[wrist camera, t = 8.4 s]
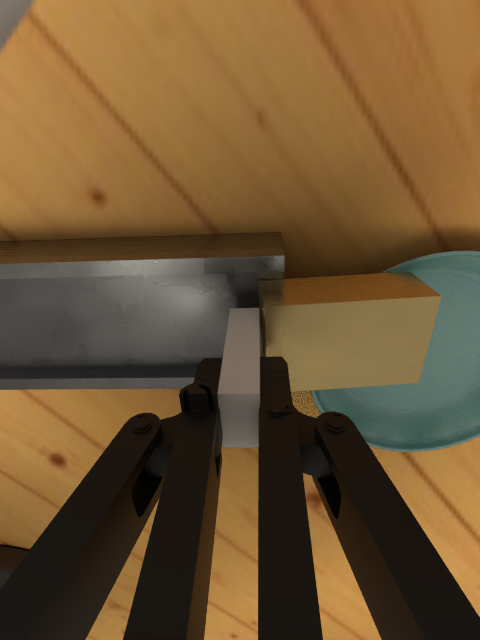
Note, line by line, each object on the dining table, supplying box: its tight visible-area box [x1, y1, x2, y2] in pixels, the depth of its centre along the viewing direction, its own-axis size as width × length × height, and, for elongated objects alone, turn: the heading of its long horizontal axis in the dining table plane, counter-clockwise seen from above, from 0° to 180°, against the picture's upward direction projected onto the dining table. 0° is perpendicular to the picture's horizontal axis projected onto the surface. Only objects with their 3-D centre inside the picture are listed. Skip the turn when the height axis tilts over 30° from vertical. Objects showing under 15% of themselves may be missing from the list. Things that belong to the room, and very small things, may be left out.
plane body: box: [0, 232, 285, 390], centre depth 21 cm, size 18×8×4 cm, turn 93°
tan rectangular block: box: [258, 272, 442, 392], centre depth 19 cm, size 8×5×3 cm, turn 92°
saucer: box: [311, 251, 480, 452], centre depth 23 cm, size 15×15×3 cm
